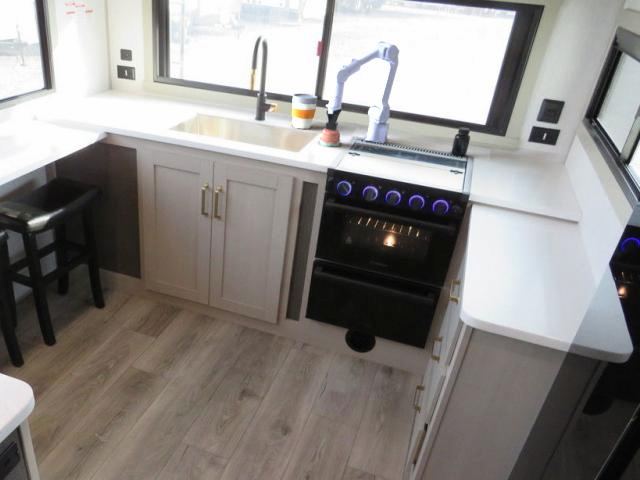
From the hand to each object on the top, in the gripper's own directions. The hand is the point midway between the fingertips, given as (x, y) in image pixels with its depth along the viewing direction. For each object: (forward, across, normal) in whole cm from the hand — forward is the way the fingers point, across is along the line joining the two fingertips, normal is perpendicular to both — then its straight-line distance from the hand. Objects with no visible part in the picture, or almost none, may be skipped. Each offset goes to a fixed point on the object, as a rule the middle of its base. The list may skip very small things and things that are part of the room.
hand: (331, 126), depth 269 cm
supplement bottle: (+9, -17, +58) cm, 61 cm away
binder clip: (+1, 0, 0) cm, 1 cm away
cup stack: (+8, 0, 0) cm, 8 cm away
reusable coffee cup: (+8, -20, -20) cm, 30 cm away
